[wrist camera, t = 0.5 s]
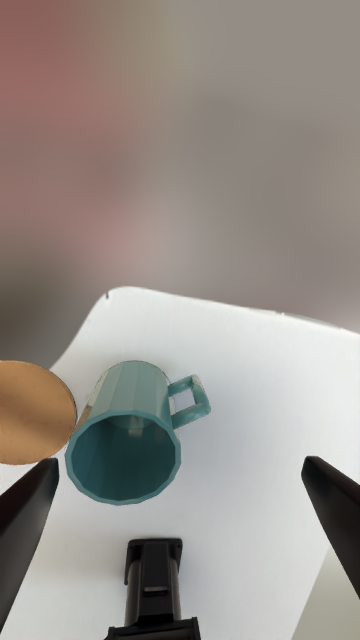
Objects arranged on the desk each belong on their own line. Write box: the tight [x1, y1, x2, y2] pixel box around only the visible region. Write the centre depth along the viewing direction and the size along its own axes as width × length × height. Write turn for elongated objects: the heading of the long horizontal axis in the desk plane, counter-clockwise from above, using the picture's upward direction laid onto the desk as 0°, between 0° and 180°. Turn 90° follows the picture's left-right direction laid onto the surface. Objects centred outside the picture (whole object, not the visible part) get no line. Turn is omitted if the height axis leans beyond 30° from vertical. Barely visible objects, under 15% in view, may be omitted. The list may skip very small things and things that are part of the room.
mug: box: [65, 361, 211, 506], centre depth 20 cm, size 10×8×8 cm
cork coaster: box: [0, 360, 76, 465], centre depth 22 cm, size 11×11×1 cm
